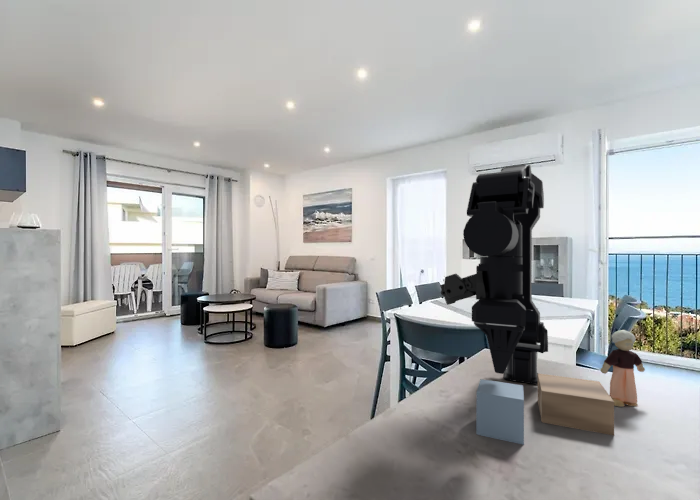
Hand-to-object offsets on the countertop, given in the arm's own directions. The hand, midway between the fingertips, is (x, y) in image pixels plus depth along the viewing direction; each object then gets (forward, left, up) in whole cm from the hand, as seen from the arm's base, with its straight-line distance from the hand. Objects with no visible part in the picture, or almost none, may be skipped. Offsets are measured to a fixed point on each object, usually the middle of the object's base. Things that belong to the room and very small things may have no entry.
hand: (500, 363), depth 51 cm
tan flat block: (-10, +10, -10) cm, 17 cm away
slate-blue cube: (0, 0, -10) cm, 10 cm away
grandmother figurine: (-20, +19, -10) cm, 29 cm away
